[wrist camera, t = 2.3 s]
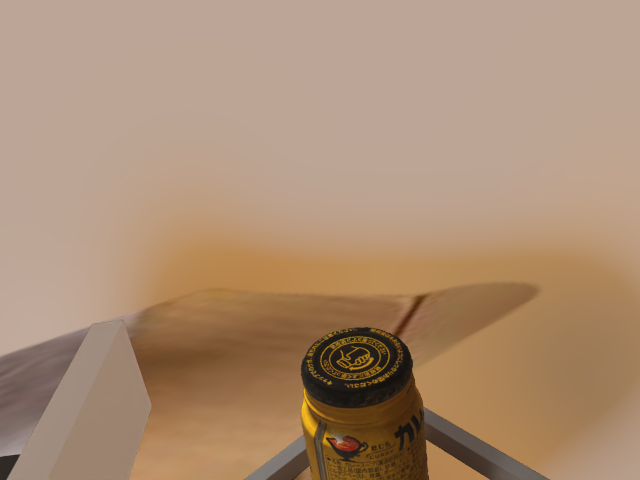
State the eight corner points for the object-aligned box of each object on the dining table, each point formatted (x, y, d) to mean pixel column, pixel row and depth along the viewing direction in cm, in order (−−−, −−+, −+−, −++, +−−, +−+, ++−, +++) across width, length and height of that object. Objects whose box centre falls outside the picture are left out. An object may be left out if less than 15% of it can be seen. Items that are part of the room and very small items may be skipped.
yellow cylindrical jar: (332, 472, 37) (305, 311, 32) (473, 487, 35) (469, 317, 29) (301, 585, 31) (261, 408, 25) (470, 612, 28) (465, 424, 23)
